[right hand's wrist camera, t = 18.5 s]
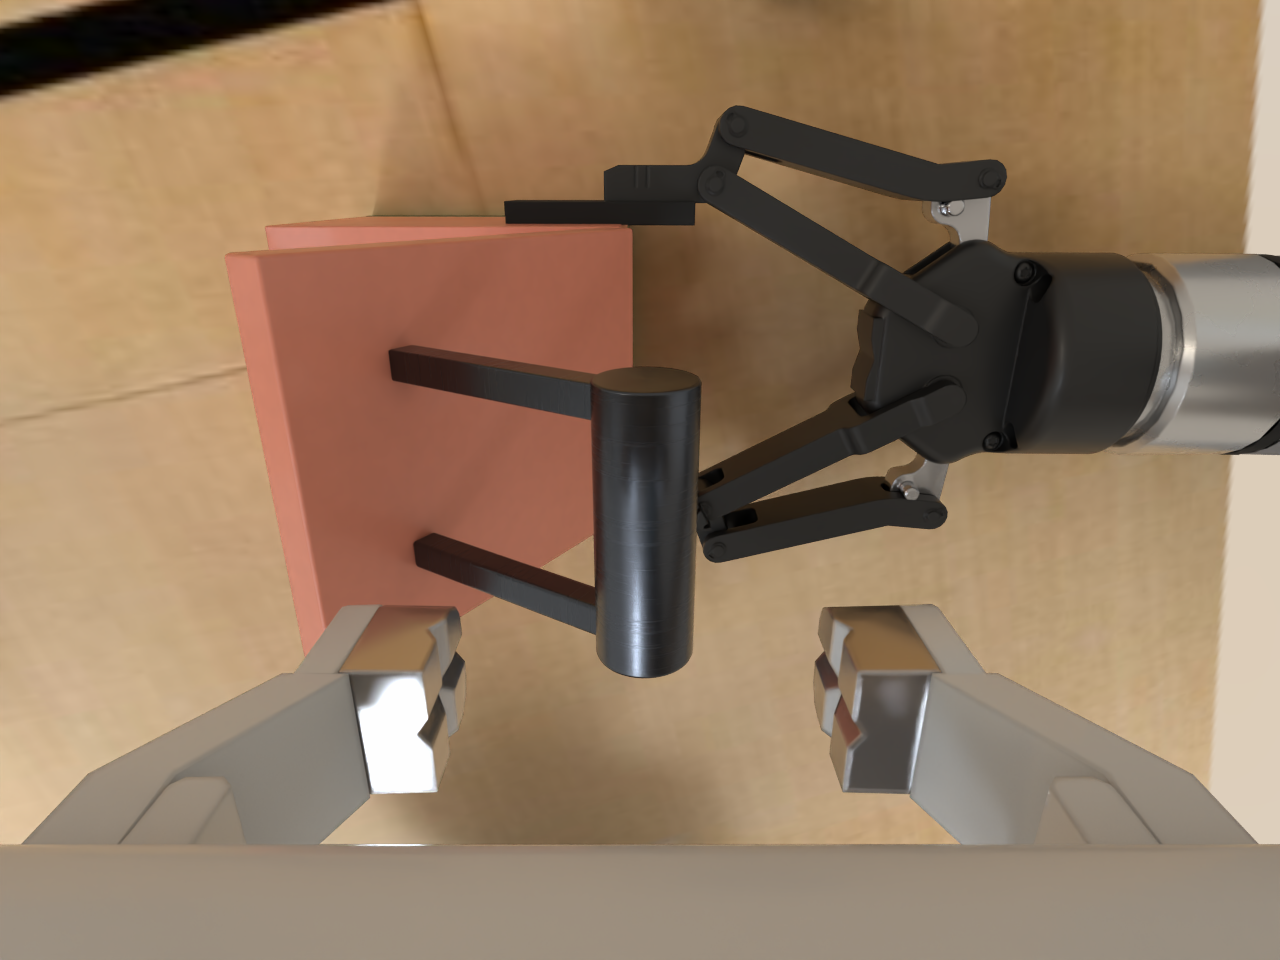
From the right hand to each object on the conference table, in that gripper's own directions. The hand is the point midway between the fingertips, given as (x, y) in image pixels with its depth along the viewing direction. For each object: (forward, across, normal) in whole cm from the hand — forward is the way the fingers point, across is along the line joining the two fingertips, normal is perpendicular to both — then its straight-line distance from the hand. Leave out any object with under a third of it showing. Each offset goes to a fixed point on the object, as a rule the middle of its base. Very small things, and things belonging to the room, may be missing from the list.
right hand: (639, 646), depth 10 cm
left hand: (+19, -5, 0) cm, 20 cm away
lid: (+11, -4, 0) cm, 11 cm away
